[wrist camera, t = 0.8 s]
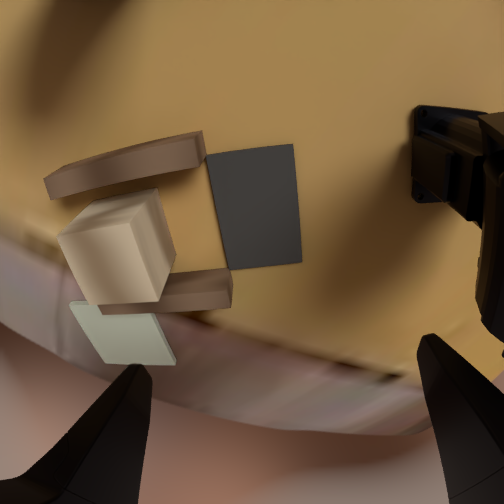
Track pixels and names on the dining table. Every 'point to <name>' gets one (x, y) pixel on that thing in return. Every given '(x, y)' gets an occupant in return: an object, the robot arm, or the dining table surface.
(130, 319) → the sage coaster
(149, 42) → the dining table surface
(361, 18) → the dining table surface
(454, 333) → the dining table surface
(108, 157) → the walnut channel
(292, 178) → the tile
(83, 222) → the beech block
